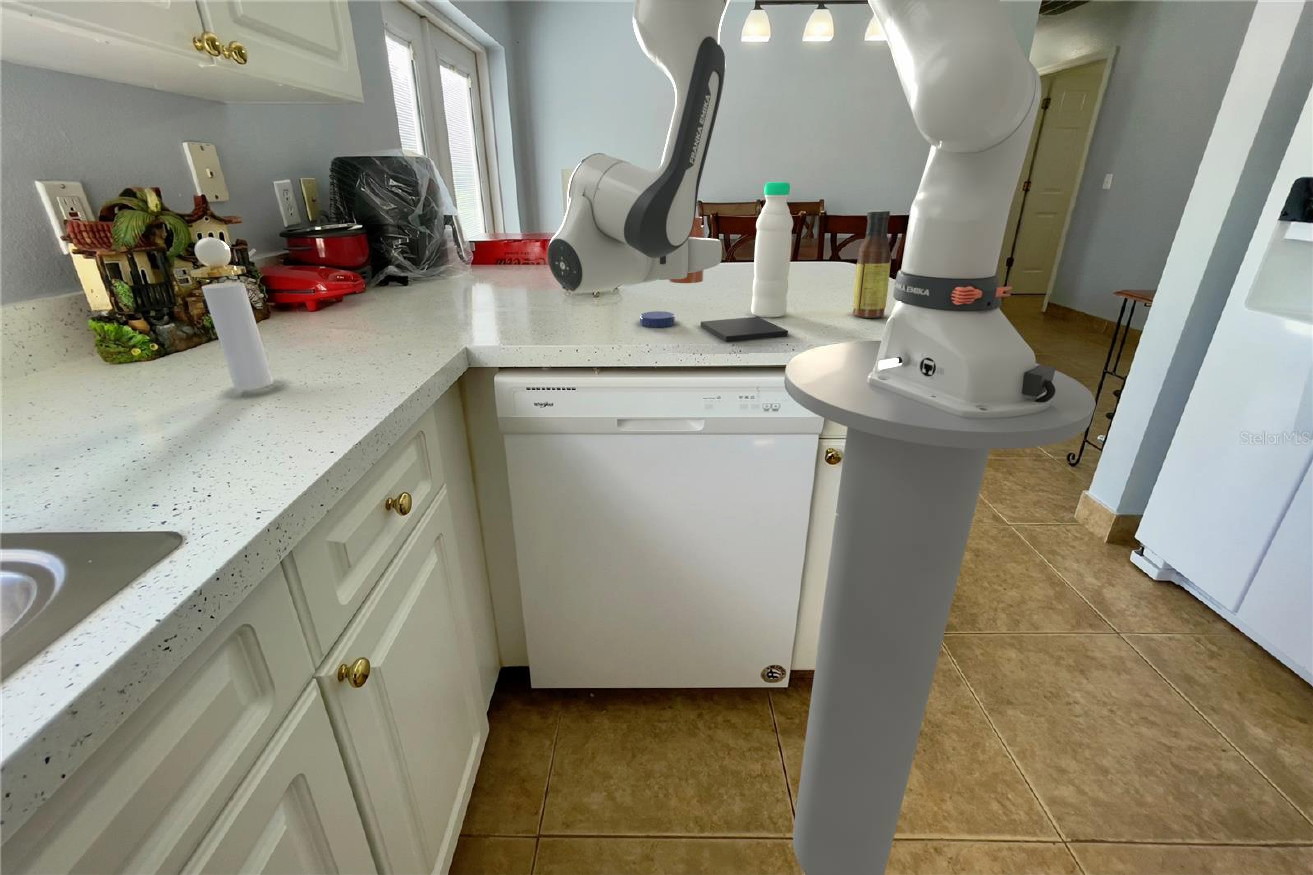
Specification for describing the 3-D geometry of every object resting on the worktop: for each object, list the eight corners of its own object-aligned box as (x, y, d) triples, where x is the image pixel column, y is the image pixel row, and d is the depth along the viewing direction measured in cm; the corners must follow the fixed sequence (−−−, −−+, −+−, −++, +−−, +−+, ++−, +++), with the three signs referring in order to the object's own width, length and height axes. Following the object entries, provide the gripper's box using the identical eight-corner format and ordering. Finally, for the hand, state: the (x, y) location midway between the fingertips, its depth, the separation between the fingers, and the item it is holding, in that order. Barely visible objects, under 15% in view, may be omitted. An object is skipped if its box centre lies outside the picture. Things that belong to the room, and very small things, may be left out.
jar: (708, 281, 100) (709, 217, 96) (675, 284, 98) (675, 218, 94) (695, 277, 105) (696, 215, 101) (664, 279, 104) (663, 216, 99)
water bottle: (782, 319, 116) (793, 182, 106) (747, 316, 118) (755, 182, 108) (788, 312, 122) (799, 181, 112) (754, 309, 124) (762, 181, 114)
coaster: (787, 336, 104) (788, 330, 103) (725, 342, 100) (726, 336, 100) (757, 321, 114) (757, 316, 114) (700, 326, 111) (700, 321, 111)
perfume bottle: (288, 386, 81) (245, 236, 73) (244, 399, 77) (193, 240, 69) (266, 380, 84) (221, 234, 76) (222, 392, 80) (170, 238, 71)
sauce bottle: (890, 316, 117) (907, 210, 109) (870, 320, 114) (886, 211, 106) (863, 310, 122) (877, 209, 114) (843, 314, 119) (856, 210, 110)
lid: (656, 318, 118) (656, 309, 117) (681, 323, 114) (681, 314, 113) (633, 324, 113) (633, 315, 113) (658, 329, 109) (658, 320, 109)
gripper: (590, 270, 98) (643, 261, 107) (690, 280, 86) (739, 269, 96) (588, 230, 95) (642, 224, 105) (690, 234, 83) (740, 228, 93)
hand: (689, 245), depth 100 cm, fingers closed on jar, 6 cm apart
